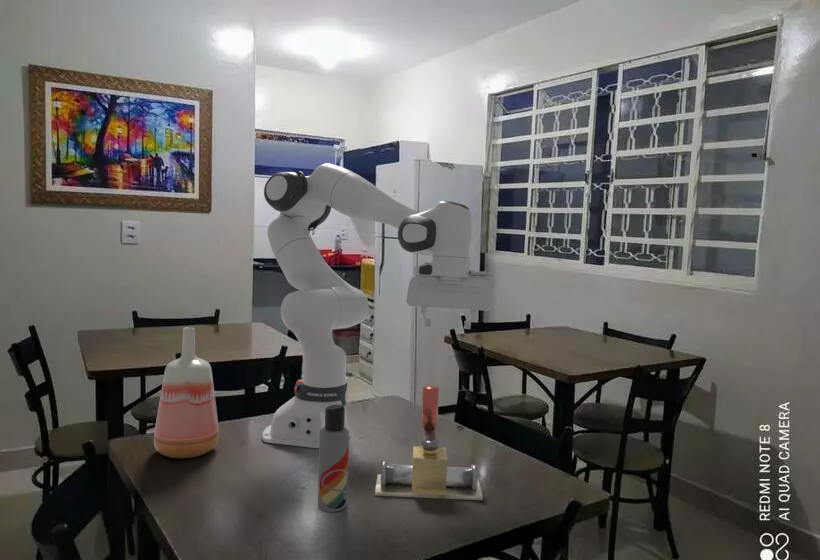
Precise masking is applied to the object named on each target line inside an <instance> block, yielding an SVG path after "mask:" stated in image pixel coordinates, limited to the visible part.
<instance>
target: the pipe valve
mask: <svg viewBox="0 0 820 560" xmlns="http://www.w3.org/2000/svg"><path fill="white" fill-rule="evenodd" d="M446 448H447V447H443V446H442V447H440V446H439V448H438V449H435V450H428V449H424V448H422V446H420V445H419V446H417V445H416V446H415V445H413V447H412V464H393V463H388V461H387V460H382V461H381V467H380V468H381V469H380V472H381V473H380V474H377V476H376V477H377V478H376V483H375V489H374V496H377V497H400V498H401V497H402V498H419V499H420V498H422V499H423V498H424V499H425V498H427V499H447V500H466V501H468V500H470V501H471V500H472V501H473V500H474V501H483V500H484V495H483V492H482V488H481V484H480V481H479V478H478V477H479V476H478V466H477V464H470V467H464V466H463V467H462V466H448V454H447V449H446Z"/></svg>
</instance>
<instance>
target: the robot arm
mask: <svg viewBox="0 0 820 560" xmlns="http://www.w3.org/2000/svg"><path fill="white" fill-rule="evenodd" d="M263 196H264V200H265V201H266V203H267V204H268V205H269V206H270V207H271V208H273V210H275V211H277V212H279V213H280V214H279V215H278V216H277V217H276V218H274V219H273V220H272V221H271V222H270V223H269V225H268V227H267V232H266V233H267V238H268V242H269V245H270V247H271V251H272V253H273V255H274V257H275V260H276V261H277V264H278V265H279V267H280V270H282V273H283V275H284V276H285V279H286V281H287V282H288V283H289V285H291V286H292V287H293V288H295V289H297V290H296V291H292V292H289V293H288V294H286V295H285V297H284V298H283V300H282V302H281V305H280V317H281V320H282V322H283V324H284V325H285V327H286V328H287V329H288V330H290V331H291V332H292V333H293V334H294V335H295V337H296V339H297V341H298V343H299V345H300V348H301V354H302V379H298V380H296V383H295V385H294V396H293V397H292V398H291V399H288V401H286V402H285V403H284V404H282V405H281V406H279V408H278V409H276V411H275V412H274V414H273V417H272V421H271V424H270V425H267V426H266V428H265V429H263V432H262V435H261V436H262V437H261V439H262V441H263V442H264V443H268V444H277V445H287V446H293V447H294V446H295V447H303V448H311V449H319V437H320V430H321V429H322V428H324V427H325V408H327V407H328V406H331V405H343V407H344V408H345V423H344V427H345V428H347V429H348V430H349V438H350V437H351V433H350V429H349V424H348V418H347V417H348V416H347V403H348V392H349V391H348V383H347V379H346V378H347V354H346V352H345V350H344V349H343V348H342V347H340V346H339V345H337V344H336V343H335V340H334V337H333V330H339V329H340V330H341V329H348V328H352V327H354V326H356V325H358V324H361V323H362V322H364V321H365V320H366V319H367V317H368V314H369V310H370V304H369V303H370V302H369V300H368V297H367V295H366V294H365V293H364V291H362V290H361V289H359V288H357V287H355V286H352V285H351V284H350V283H348V282H347V281H345V280H344V278H342V277H340V276H339V274H338V273H337V272H336V271H335V270H333V268H331V266H330V265H328V263H327V262H326V261H325V259H324V257H323V255H322V254H321V252H320V251H319V249H318V247H317V245H316V244H315V242H314V240H313V239H312V237H311V235H310V233H309V232H310V231H315V230H316V229H317V227H318V226H320V225H322V224H323V223H324V222H325V221H326V220H327V218H328V217H329V215H330V214H331V211H332V209H334V210H335V211H337V212H338V213H341V214H343V215H345V216H346V217H349V218H352V219H356V220H361V221H366V222H367V221H368V222H375V223H380V224H384V225H389V226H391V227H394V228H396V229H397V240H398V243H399V244H400V247H401V248H402V249H403V250H404V251H406V252H408V253H410V254H415V255H421V256H430V257H432V261H431V262H425V263H423V264H419V265H416V266H414V267H413V274H414V276H413V277H412V278H411V279H410V281H409V284H408V288H407V293H406V304H407V306H409V307H420V313H421V316H422V317H423V319H424V327H431V326H432V323H431V322H432V318H428V316H427V313H426V312H427V311H428V308H437V309H451V310H452V309H454V310H468V311H469V314H470V316H469V319H468V320H464V327H463V329H465V330H471V326H472V322H473V320H474V319H475V317H476V316H477V311H486V312H487V311H490V310H491V308H492V307H493V306H492V302H493V301H492V299H493V298H492V290H493V289H494V286H495V278H494V276H493V275H492V274H491V273H489V272H488V271H484V270H483V271H479V270H470V265H471V262H470V261H471V255H470V244H471V242H472V241H471V240H472V214H471V213H472V212H471V209H469V207H468V206H467V205H465V204H463V203H458V202H455V201H450V200H440V201H439V202H437V203H436V205H434V206H433V207H431V208H429V209H427V210H425V211H422V212H420V213H419V212H418V211H416V210H414V209H412V208H410V207H408V206H406V205H404V204H402V203H400V202H399V201H397V200H395V199H394V198H393V197H391V196H390V195H388V194H386V193H385V192H384V191H382V190H381V189H380V188H378V187H377V186H376V185H374V184H373V183H372V182H370V181H369V180H367V179H365V178H364V176H363V177H362V176H361V175H360V174H358V173H355V172H354V171H352V170H350V169H348V168H345V167H342V166H339V165H337V164H333V163H322V164H320V165H318V166H317V167H316V168H314V170H313V172H312V173H311V174H310V175H307V176H306V175H305V174H304V172H303V171H278V172H276V173H274V174H272V175H271V176H270V177H269V178H268V179H267V180H266V182H265V185H264V187H263Z"/></svg>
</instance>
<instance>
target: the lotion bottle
mask: <svg viewBox="0 0 820 560" xmlns="http://www.w3.org/2000/svg"><path fill="white" fill-rule="evenodd" d="M344 423H345V408H344V407H343V405H331V406H328V407H327V408H325V427H324V428H322V429H321V430H320V437H319V448H318V472H317V473H318V476H317V507H318V509H320V510H321V511H323V512H329V513H334V512H336V513H337V512H340V511H344V509H345V508H346V507H347V505H348V503H347V502H348V481H349V474H348V473H349V448H350V447H349V446H350V437H349V432H350V429H349V430H348V429H347V428H345V427H344Z"/></svg>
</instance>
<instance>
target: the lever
mask: <svg viewBox="0 0 820 560" xmlns="http://www.w3.org/2000/svg"><path fill="white" fill-rule="evenodd" d="M439 391H440V387H439V386H436V385H424V386H422V400H421V401H422V403H421V405H422V406H421V425H420V427H421V428H422V429H423V439H421V447H422V448H424V449H428V450H435V449H438V448H439V447H440V446H439V444H440V441H439V439H436V438H437V437H436V429H437V428H438V421H439V419H438V416H439V395H440V393H439Z"/></svg>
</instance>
